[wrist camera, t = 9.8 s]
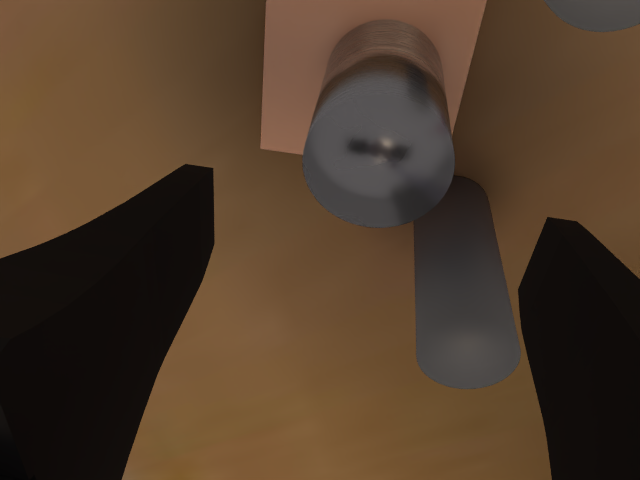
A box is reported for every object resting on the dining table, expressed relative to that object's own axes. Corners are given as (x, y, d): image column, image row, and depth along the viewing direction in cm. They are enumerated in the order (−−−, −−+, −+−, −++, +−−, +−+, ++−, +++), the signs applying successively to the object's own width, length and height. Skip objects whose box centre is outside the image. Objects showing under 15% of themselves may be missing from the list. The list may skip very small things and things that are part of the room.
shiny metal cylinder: (465, 53, 19) (485, 137, 14) (406, 148, 22) (406, 247, 17) (357, -3, 19) (341, 67, 14) (308, 102, 21) (280, 192, 16)
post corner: (478, 242, 24) (503, 395, 18) (407, 232, 25) (407, 380, 18) (497, 182, 23) (534, 327, 16) (421, 171, 23) (427, 311, 16)
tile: (441, 167, 22) (441, 175, 22) (263, 141, 23) (260, 148, 22) (490, -26, 18) (492, -22, 18) (271, -55, 19) (268, -51, 18)
